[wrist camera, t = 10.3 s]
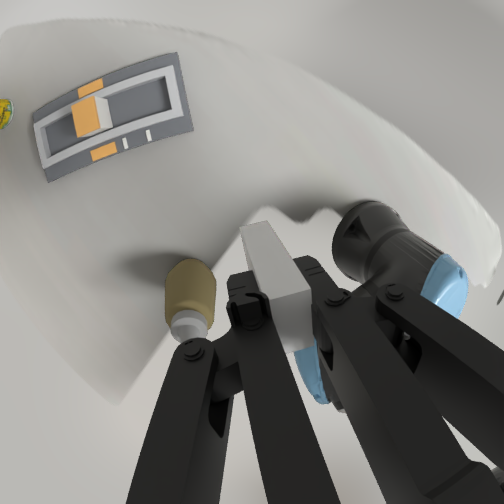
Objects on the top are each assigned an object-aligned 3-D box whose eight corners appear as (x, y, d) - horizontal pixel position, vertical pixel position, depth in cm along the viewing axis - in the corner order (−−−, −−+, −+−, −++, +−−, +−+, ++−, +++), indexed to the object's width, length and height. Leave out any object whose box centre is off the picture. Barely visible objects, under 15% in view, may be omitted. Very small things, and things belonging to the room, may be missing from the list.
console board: (178, 55, 29) (175, 49, 26) (193, 130, 35) (192, 130, 32) (38, 113, 28) (27, 113, 25) (54, 180, 33) (43, 185, 30)
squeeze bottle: (159, 279, 44) (142, 358, 28) (183, 242, 42) (174, 314, 26) (198, 301, 47) (200, 382, 31) (225, 267, 45) (238, 345, 29)
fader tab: (107, 99, 28) (92, 95, 24) (113, 127, 30) (99, 128, 26) (87, 107, 28) (71, 105, 23) (93, 135, 30) (77, 137, 25)
